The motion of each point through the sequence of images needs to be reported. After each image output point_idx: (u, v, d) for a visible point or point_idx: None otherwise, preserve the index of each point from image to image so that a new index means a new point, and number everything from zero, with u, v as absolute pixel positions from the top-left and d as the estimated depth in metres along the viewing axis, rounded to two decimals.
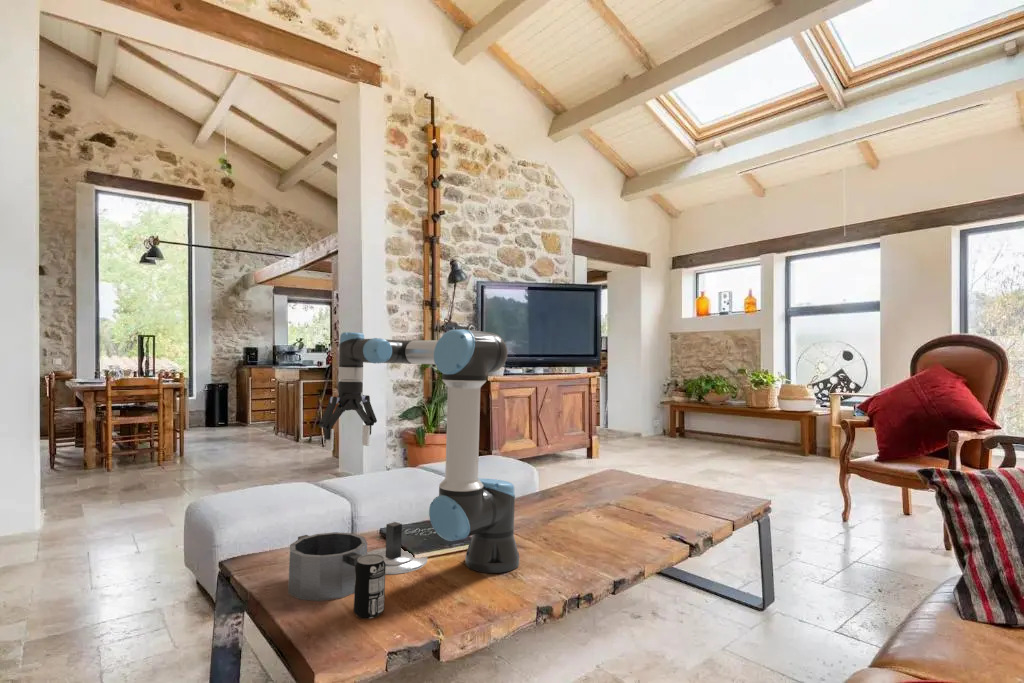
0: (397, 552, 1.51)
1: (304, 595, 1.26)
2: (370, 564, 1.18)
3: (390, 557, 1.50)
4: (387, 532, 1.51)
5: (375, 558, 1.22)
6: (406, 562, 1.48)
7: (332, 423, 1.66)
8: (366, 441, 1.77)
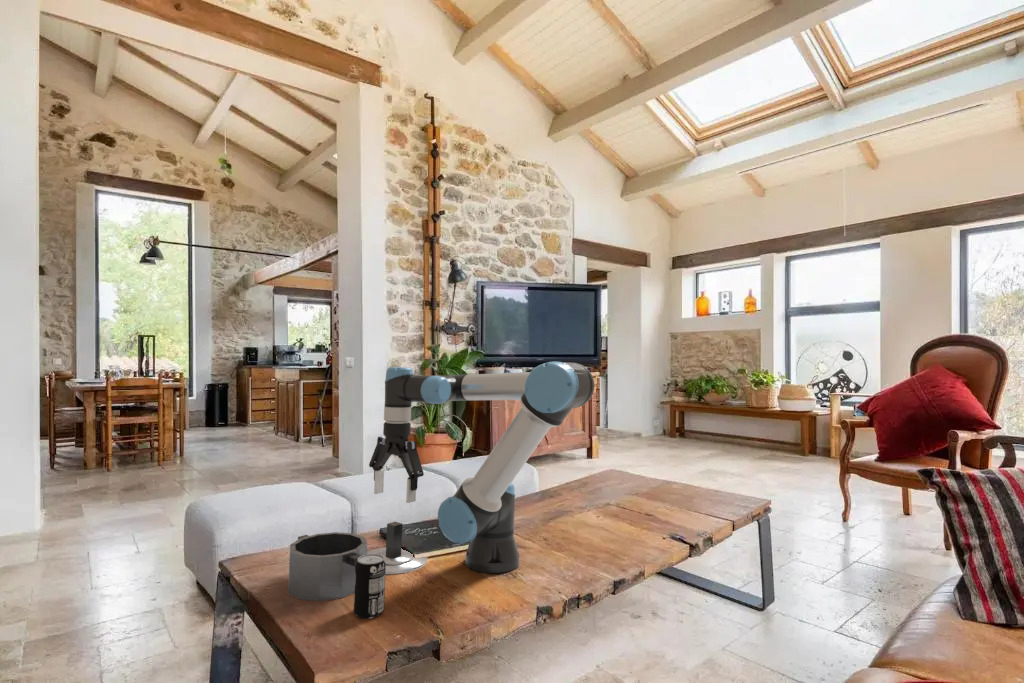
0: (397, 551, 1.51)
1: (304, 595, 1.26)
2: (370, 564, 1.18)
3: (390, 557, 1.50)
4: (388, 532, 1.51)
5: (375, 558, 1.22)
6: (406, 562, 1.48)
7: (376, 464, 1.56)
8: None
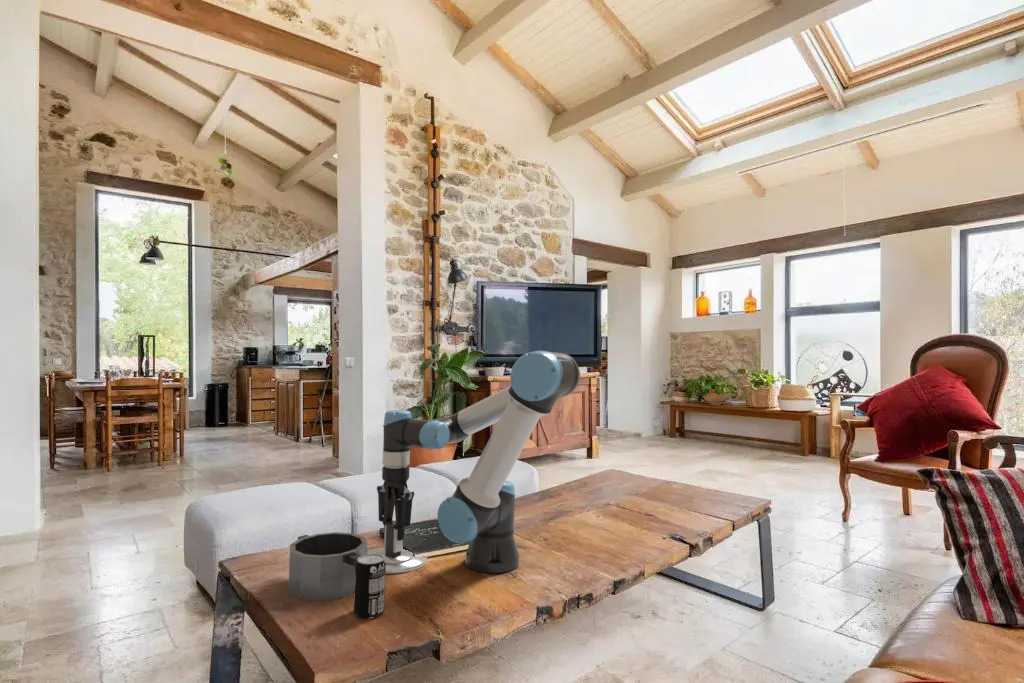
0: None
1: (304, 595, 1.26)
2: (370, 564, 1.18)
3: (390, 556, 1.50)
4: (387, 531, 1.51)
5: (375, 558, 1.22)
6: (406, 560, 1.49)
7: (384, 518, 1.53)
8: None
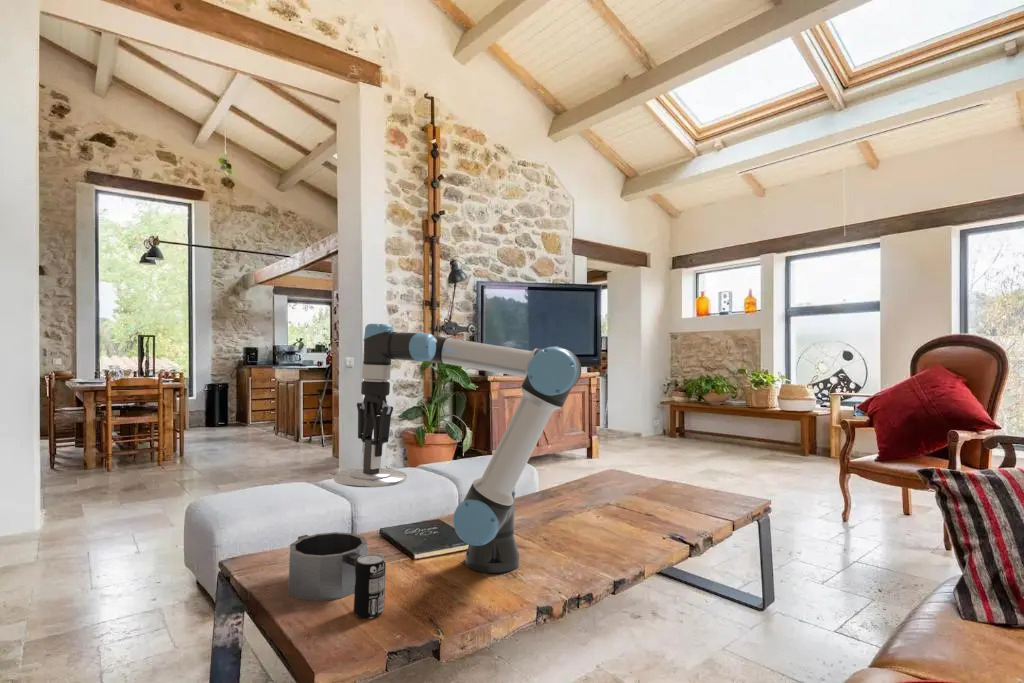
0: None
1: (304, 595, 1.26)
2: (370, 564, 1.18)
3: (367, 472, 1.45)
4: (365, 447, 1.46)
5: (375, 558, 1.22)
6: (383, 477, 1.43)
7: (363, 434, 1.48)
8: None
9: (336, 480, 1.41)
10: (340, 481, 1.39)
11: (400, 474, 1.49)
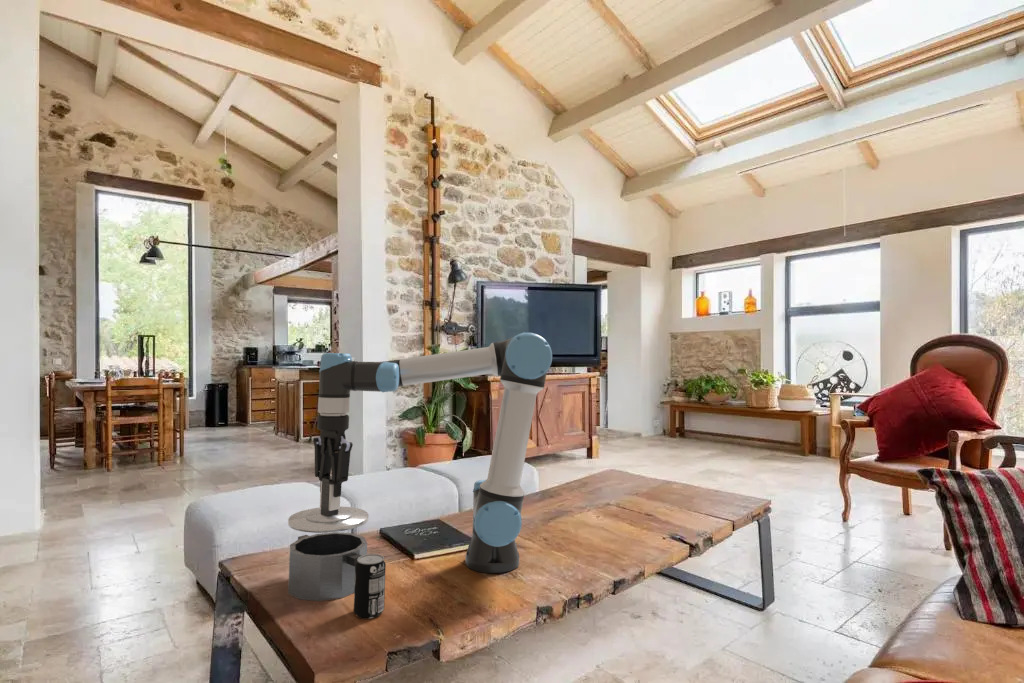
0: None
1: (304, 595, 1.26)
2: (370, 564, 1.18)
3: (325, 514, 1.34)
4: (323, 487, 1.35)
5: (375, 558, 1.22)
6: (342, 519, 1.32)
7: (320, 472, 1.37)
8: None
9: (290, 525, 1.29)
10: (295, 526, 1.28)
11: (361, 514, 1.38)
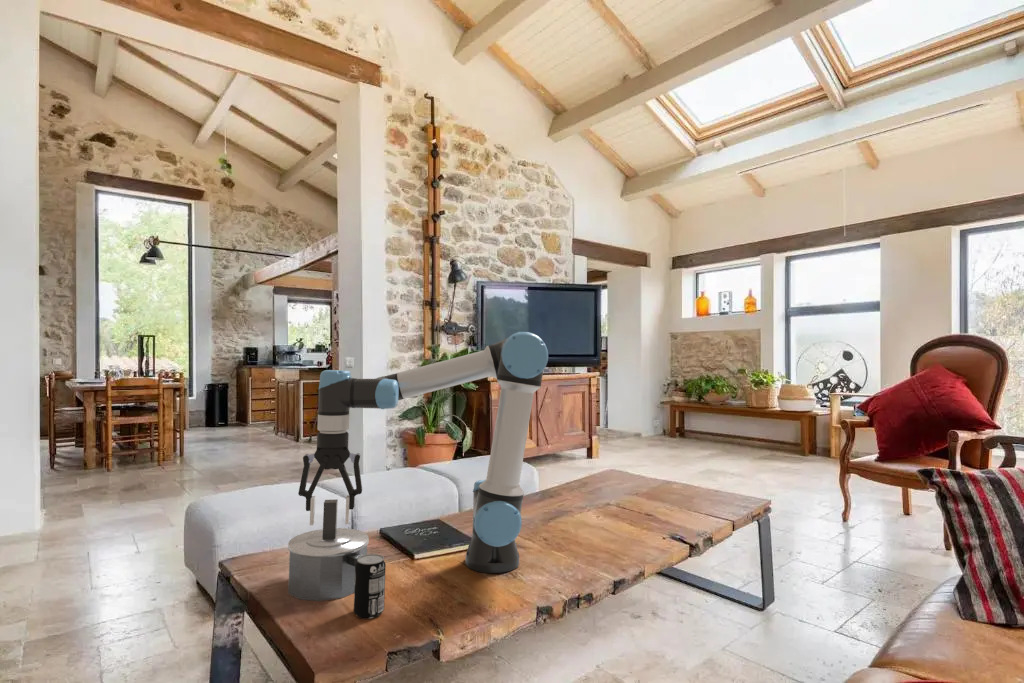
0: None
1: (304, 595, 1.26)
2: (370, 564, 1.18)
3: (331, 538, 1.34)
4: (325, 511, 1.34)
5: (375, 558, 1.22)
6: (352, 537, 1.36)
7: (310, 490, 1.34)
8: None
9: (316, 555, 1.26)
10: (326, 554, 1.26)
11: (348, 530, 1.43)
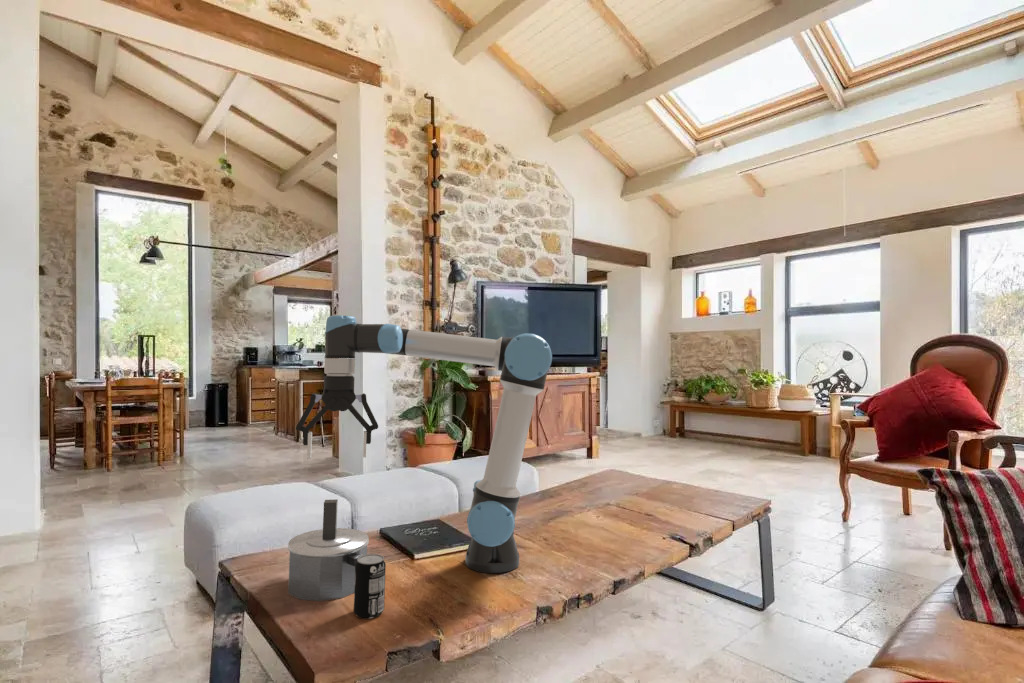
0: None
1: (304, 595, 1.26)
2: (370, 564, 1.18)
3: (331, 538, 1.34)
4: (325, 511, 1.34)
5: (375, 558, 1.22)
6: (352, 537, 1.36)
7: (309, 426, 1.37)
8: (363, 451, 1.41)
9: (316, 555, 1.26)
10: (326, 554, 1.26)
11: (348, 530, 1.43)
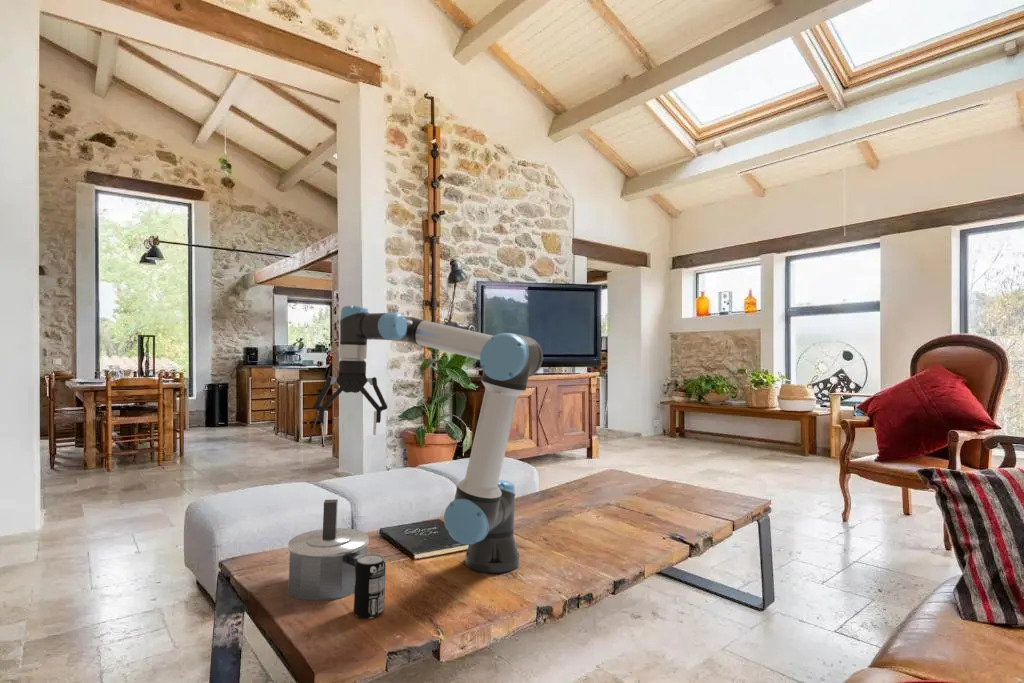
0: None
1: (304, 595, 1.26)
2: (370, 564, 1.18)
3: (331, 538, 1.34)
4: (325, 511, 1.34)
5: (375, 558, 1.22)
6: (352, 537, 1.36)
7: (325, 405, 1.52)
8: (373, 429, 1.55)
9: (316, 555, 1.26)
10: (326, 554, 1.26)
11: (348, 530, 1.43)
